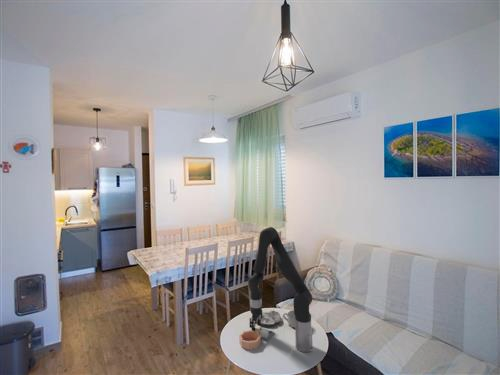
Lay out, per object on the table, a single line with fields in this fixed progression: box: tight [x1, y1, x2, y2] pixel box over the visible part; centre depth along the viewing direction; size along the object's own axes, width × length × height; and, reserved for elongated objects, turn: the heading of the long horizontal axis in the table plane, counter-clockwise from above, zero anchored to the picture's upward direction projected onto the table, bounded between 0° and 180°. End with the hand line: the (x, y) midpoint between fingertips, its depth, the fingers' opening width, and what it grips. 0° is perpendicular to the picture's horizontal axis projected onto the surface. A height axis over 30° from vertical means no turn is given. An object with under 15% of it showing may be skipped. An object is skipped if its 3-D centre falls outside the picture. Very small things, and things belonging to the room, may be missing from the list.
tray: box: [259, 327, 275, 342], centre depth 169 cm, size 14×9×1 cm, turn 62°
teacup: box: [282, 309, 295, 329], centre depth 179 cm, size 14×11×8 cm
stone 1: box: [255, 324, 262, 333], centre depth 171 cm, size 4×3×4 cm
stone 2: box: [260, 328, 270, 338], centre depth 166 cm, size 4×3×4 cm
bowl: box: [238, 329, 262, 351], centre depth 160 cm, size 12×12×5 cm
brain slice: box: [257, 310, 282, 327], centre depth 185 cm, size 20×17×3 cm
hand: (256, 329), depth 171 cm, fingers open, 8 cm apart
